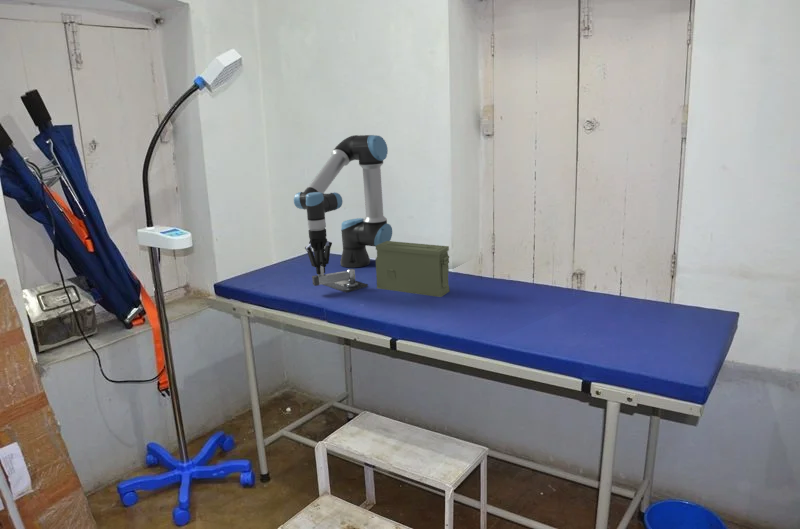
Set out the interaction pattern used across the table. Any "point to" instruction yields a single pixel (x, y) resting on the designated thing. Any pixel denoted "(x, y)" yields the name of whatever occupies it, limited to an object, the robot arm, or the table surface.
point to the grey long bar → (334, 277)
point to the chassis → (346, 285)
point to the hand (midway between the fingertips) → (321, 280)
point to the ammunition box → (412, 268)
